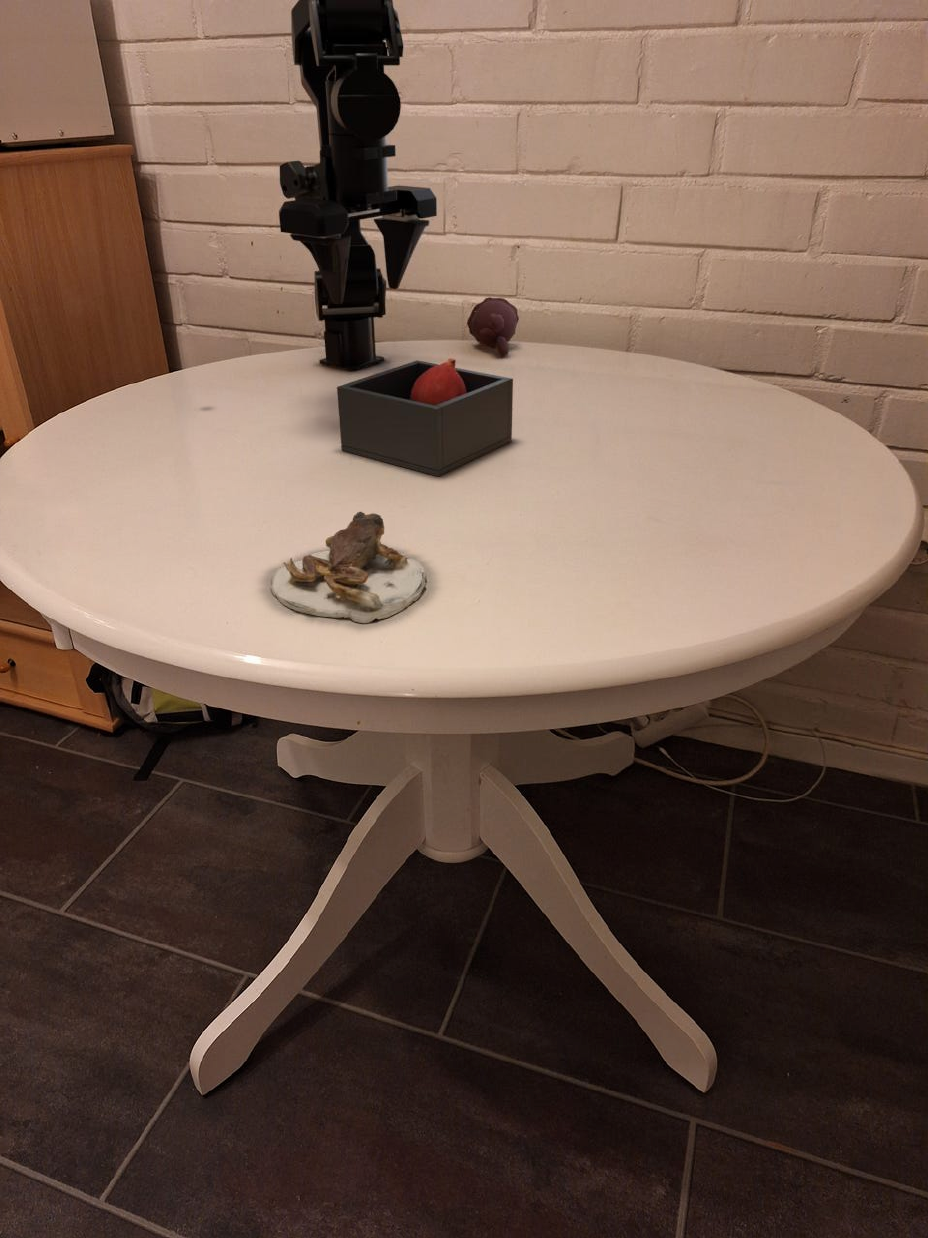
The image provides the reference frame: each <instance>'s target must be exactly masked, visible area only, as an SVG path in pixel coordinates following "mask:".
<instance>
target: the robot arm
mask: <svg viewBox="0 0 928 1238" xmlns="http://www.w3.org/2000/svg"><path fill="white" fill-rule="evenodd" d="M290 20H291V23H290V24H291V25H290V27H291V48H292V58H293V65H294V66H299V74H300V84H301V86H302V88H303V90H304V91H305V93H306V94H307V96H308V97H309V98H310V100H311V102H312V104H313V106H315V109H316V119H317V120H316V121H317V130H318V140H319V141H318V142H319V163H317V164H315V165H309V166H305V165H304V164H303V163H302V161H300V160H292V161H286V162H284V163H282V164H280V165H279V185H280V189H281V192H282V195H283V196H284V197H285V198H286V199H288V200H287V201H283V204H282V205H281V207H280V208H279V210H278V219H279V228H280V229H279V230H280V233H283V234H289V236H290V238H291V239H292V240H293V241H296V242H300V243H301V244H302V245H303V246H304V247H305V248H306V249H307V250H308V251H309V252H310V254H311V256H312V258H313V260H314V262H315V264H316V266H317V269H318V270H315V271H314V274H313V275H314V305H315V314H316V317H317V320H318V321H319V322H324V331H323V340H324V351H325V352H324V353H325V357H324V358H321V359H319V360H318V361H319V362H318V363H319V365H324V366H329V367H333V368H339V369H342V370H343V369H344V370H348V371H356V370H360V369H363V368H366V367H367V368H368V367H370V366H374V365H376V364H380V363H383V362H385V356H382V355H377V353H376V350H377V349H376V333H375V318H379V319H382V318H383V317H384V316H386V314H387V313H386V312H387V310H386V296H387V285H388V288H389V289H391V290H397V289H399V288H400V285H401V282H402V280H403V277H404V275H405V273H406V270H407V268H408V266H409V263H410V261H411V258H412V256H413V253H414V251H415V250H416V247H417V245H418V243H419V241H420V239H421V237H422V235H423V233H424V231H425V229H426V227H429V226H430V223H431V221H430V220H429V219H428V218H433V217H437V216H438V215H437V214H438V213H437V212H438V211H437V209H438V207H437V196H436V194H434V192H433V191H432V189H431V188H430V187H422V186H409V185H399V184H398V185H393V186H392V185H391V186H389V174H388V171H389V170H388V168H389V167H388V158H393V157H397V156H396V144H395V145H394V144H387V136H388V135H389V134H390V133H392V131H393V130H394V129H395V127H396V125H397V124H398V122H399V119H400V115H401V108H402V104H401V103H402V102H401V96H400V93H399V90H398V88H397V86H396V85H395V83H394V81H393V80H392V78H391V77H390V76H389V75H388V74H387V73H385V67H386V66H391V67H392V66H393V67H394V66H396V67H397V66H398V67H400V65H401V58H403V56H404V41H403V36H402V29H401V25H400V24H401V23H400V20H399V13H398V11H397V10H396V9H395V7H394V0H298V1H297V2H296V3H295V4H294V6H293V7H292V8H291V11H290ZM289 199H294V200H289ZM366 219H367V220H368V219H373V222H374V223H375V225H376V227H377V228H378V230H379V232H380V233H381V235H382V238H383V239H382V240H383V250H384V260H385V272H386V278H387V280H386V279H385V278H384V277H383V276H384V275H383V273H382V269H381V268H379V267H378V268H377V260H376V252H375V250H374V249H373V247H372V245H371V244H369V243H368V241H367V239H366V238H365V236H364V234H363V233H362V230H361V229H362V228H361V220H366ZM324 306H326V308H325V307H324ZM323 307H324V308H323Z"/></svg>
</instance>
